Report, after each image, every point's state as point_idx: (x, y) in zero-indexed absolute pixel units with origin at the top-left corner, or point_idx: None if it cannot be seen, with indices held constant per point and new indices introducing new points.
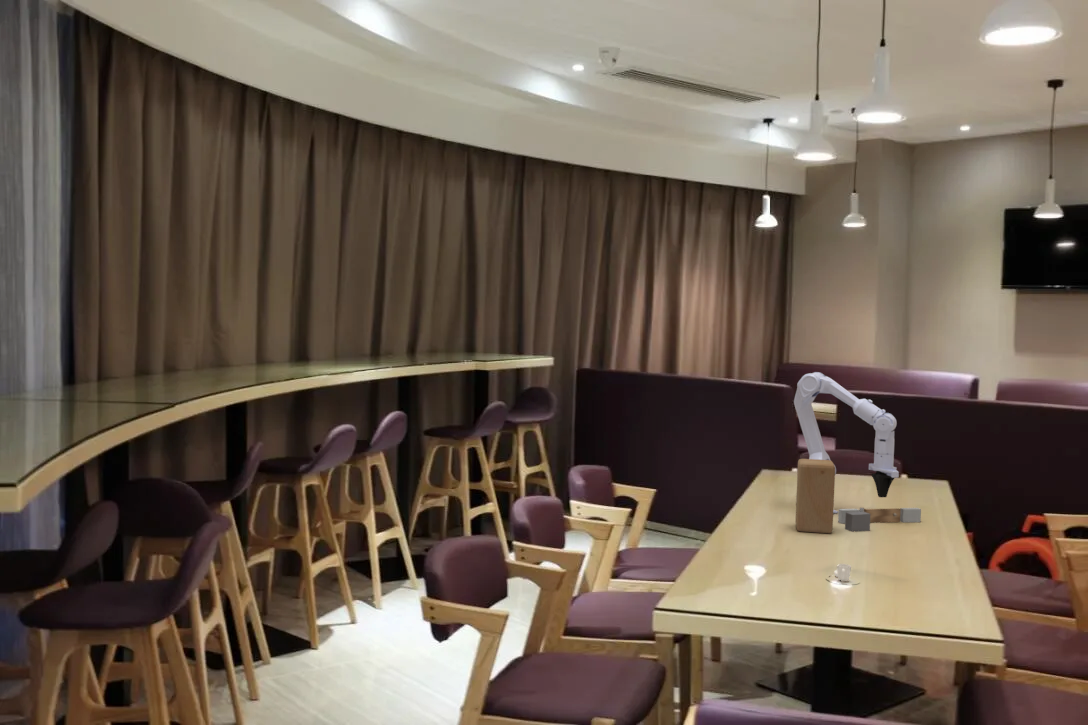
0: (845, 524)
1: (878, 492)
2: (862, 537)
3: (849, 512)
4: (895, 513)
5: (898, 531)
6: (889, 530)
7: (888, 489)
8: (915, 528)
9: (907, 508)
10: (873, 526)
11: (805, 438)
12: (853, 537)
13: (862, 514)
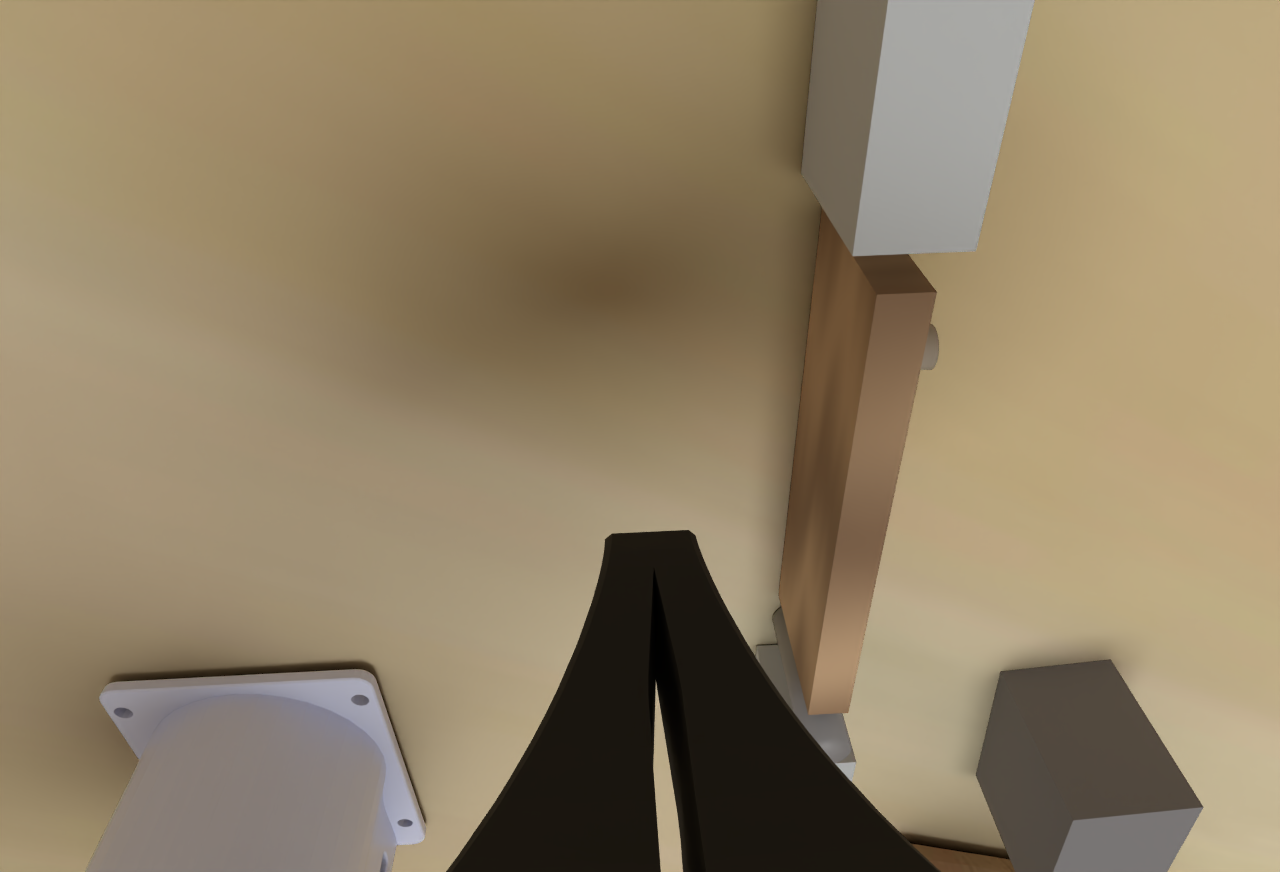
0: (995, 810)
1: (654, 700)
2: (1259, 759)
3: None
4: (934, 361)
5: (1267, 451)
6: (1184, 513)
7: (746, 642)
8: (1267, 176)
9: (919, 123)
10: (975, 579)
11: None
12: (1224, 798)
13: (1175, 855)
